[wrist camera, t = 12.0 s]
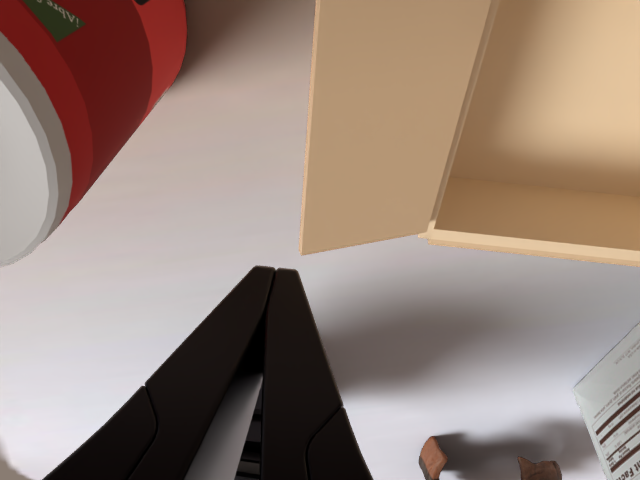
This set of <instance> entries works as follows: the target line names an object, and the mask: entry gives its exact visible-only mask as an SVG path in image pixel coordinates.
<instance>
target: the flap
mask: <svg viewBox="0 0 640 480" xmlns="http://www.w3.org/2000/svg"><path fill="white" fill-rule="evenodd" d="M490 3H491V0H316V5H315V20H314V34H313V49H312V64H311V78H310V93H309V107H308V122H307V136H306V151H305V165H304V180H303V194H302V209H301V224H300V238H299V252H300V254H301V256H302V255H307V254H312V253H318V252H323V251H328V250H334V249H339V248H345V247H350V246H355V245H361V244H366V243H372V242H377V241H382V240H388V239H393V238H399V237H404V236H409V235H415V234H420V233H426V232H427V229H428V226H429V222H430V219H431V215H432V211H433V208H434V204H435V201H436V197H437V193H438V190H439V186H440V183H441V179H442V175H443V172H444V168H445V165H446V161H447V158H448V154H449V150H450V147H451V143H452V140H453V136H454V132H455V129H456V125H457V122H458V118H459V114H460V111H461V107H462V104H463V100H464V97H465V93H466V89H467V86H468V82H469V79H470V75H471V71H472V68H473V64H474V61H475V57H476V53H477V50H478V46H479V43H480V39H481V36H482V32H483V28H484V25H485V21H486V18H487V14H488V10H489V7H490Z"/></svg>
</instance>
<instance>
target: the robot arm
mask: <svg viewBox="0 0 640 480" xmlns="http://www.w3.org/2000/svg"><path fill="white" fill-rule="evenodd" d="M42 480H373V478H372V476H371V473H370V471H369V469H368V467H367V465H366V462H365V460H364V458H363V456H362V454H361V451H360V448H359V446H358V443H357V441H356V438H355V435H354V433H353V430H352V427H351V425H350V422H349V419H348V416H347V413H346V410H345V408H343V402H342V399H341V396H340V393H339V390H338V387H337V384H336V381H335V378H334V376H333V373H332V370H331V367H330V364H329V361H328V358H327V355H326V352H325V349H324V346H323V343H322V340H321V337H320V335H319V332H318V329H317V326H316V323H315V320H314V317H313V314H312V311H311V308H310V305H309V302H308V299H307V296H306V294H305V291H304V288H303V285H302V282H301V279H300V276H299V273H298V271H297V270H295V269H286V268H278V269H277V270H275V268H274V267H268V266H255V267H253V268H252V269H251V270H250V271H249V273H248V274H247V275H246V276H245V277H244V278H243V279H242V280H241V281H240V282H239V283H238V284H237V285H236V286H235V287H234V288H233V290H232V291H231V292H230V293H229V294H228V295H227V296H226V297H225V298H224V299H223V300H222V301H221V302H220V303H219V304H218V305H217V307H216V308H215V309H214V310H213V311H212V312H211V313H210V314H209V315H208V316H207V317H206V318H205V319H204V320H203V321H202V323H201V324H200V325H199V326H198V327H197V328H196V329H195V330H194V331H193V332H192V333H191V334H190V335H189V336H188V337H187V338H186V340H185V341H184V342H183V343H182V344H181V345H180V346H179V347H178V348H177V349H176V350H175V351H174V352H173V353H172V354H171V356H170V357H169V358H168V359H167V360H166V361H165V362H164V363H163V364H162V365H161V366H160V367H159V368H158V369H157V370H156V371H155V373H154V374H153V375H152V376H151V377H150V378H149V379H148V380H147V381H146V382H145V386H141V387H140V388H139V389H138V390H137V391H136V392H135V394H134V395H133V396H132V397H131V398H130V399H129V400H128V401H127V402H126V403H125V404H124V405H123V406H122V407H121V408H120V409H119V410H118V411H117V412H116V413H115V414H114V415H113V416H112V417H111V418H110V419H109V420H108V421H107V422H106V423H105V424H104V425H103V426H102V427H101V428H100V429H99V430H98V431H97V432H95V433H94V434H93V435H92V436H91V437H90V438H89V439H88V440H87V441H86V442H84V443H83V444H82V445H81V446H80V447H79V448H78V449H77V450H76V451H74V452H73V453H72V454H71V455H70V456H69V457H68V458H66V459H65V460H64V461H63V462H62V463H61V464H59V465H58V466H57V467H56V468H55V469H54V470H53V471H51V472H50V473H49V474H48V475H47V476H46V477H45V478H43V479H42Z"/></svg>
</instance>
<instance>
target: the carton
mask: <svg viewBox="0 0 640 480" xmlns="http://www.w3.org/2000/svg"><path fill="white" fill-rule="evenodd" d="M418 238H426V239H428V244H431V245H440V246H450V247H459V248H468V249H478V250H487V251H496V252H506V253H515V254H524V255H534V256H543V257H552V258H562V259H571V260H580V261H590V262H599V263H608V264H618V265H627V266H636V267H640V0H491V3H490V7H489V10H488V14H487V18H486V21H485V25H484V28H483V32H482V36H481V39H480V43H479V46H478V50H477V53H476V57H475V61H474V64H473V68H472V71H471V75H470V79H469V82H468V86H467V89H466V93H465V97H464V100H463V104H462V107H461V111H460V114H459V118H458V122H457V125H456V129H455V132H454V136H453V140H452V143H451V147H450V150H449V154H448V158H447V161H446V165H445V168H444V172H443V175H442V179H441V183H440V186H439V190H438V193H437V197H436V201H435V204H434V208H433V211H432V215H431V219H430V222H429V226H428V229H427V232H426V233H420V234H418Z"/></svg>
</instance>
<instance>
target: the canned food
mask: <svg viewBox="0 0 640 480" xmlns="http://www.w3.org/2000/svg"><path fill="white" fill-rule="evenodd" d="M186 38H187V20H186V10H185V3H184V0H0V267H3V266H6V265H10V264H13V263H15V262H17V261H18V260H20V259H22V258H23V257H25V256H27V255H29V254H30V253H32V252H33V251H34V250H35V248H36V247H37V246H38V245H39V244H40V243H42V242H43V241H45V240H46V239H47V238H48V237H49V236H50V234H51V233H52V232H53V231H54V230H55V229H56V228H57V227H58V226H59V225H60V224H61V222H62V221H63V220H64V219H65V217H66V216H67V215H68V214H69V212H70V211H71V210H72V209H73V208H74V207H75V206H76V205H77V204H78V203H79V201H80V200H81V199H82V198H83V196H84V195H85V194H86V193H87V191H88V190H89V189H90V187H91V186H92V185H93V184H94V182H95V181H96V180H97V179H98V177H99V176H100V175H101V174H102V172H103V171H104V170H105V169H106V167H107V166H108V165H109V163H110V162H111V161H112V160H113V158H114V157H115V156H116V155H117V153H118V152H119V151H120V150H121V148H122V147H123V146H124V145H125V143H126V142H127V141H128V139H129V138H130V137H131V136H132V134H133V133H134V132H135V131H136V129H137V128H138V127H139V126H140V124H141V123H142V122H143V121H144V119H145V118H146V117H147V115H148V114H149V113H150V112H151V110H152V109H153V108H154V107H155V105H156V104H157V103H158V102H159V100H160V99H161V98H162V97H163V95H164V94H165V93H166V91H167V90H168V89H169V88H170V86H171V85H172V83H173V82H174V80H175V78H176V76H177V74H178V73H179V71H180V68H181V65H182V62H183V58H184V55H185V50H186Z"/></svg>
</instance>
